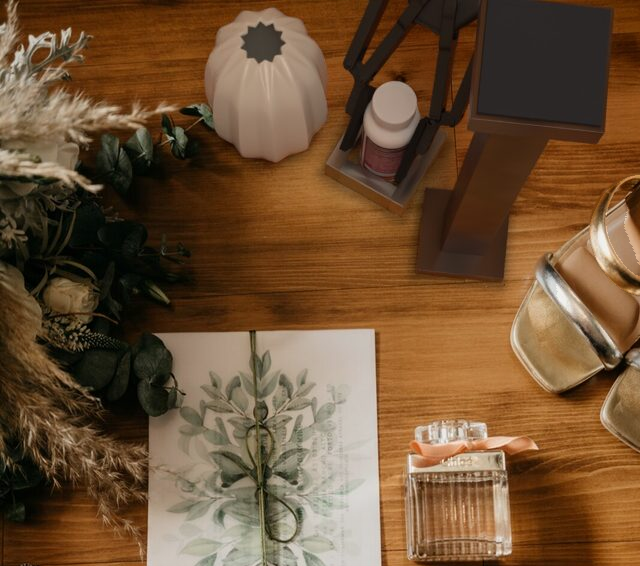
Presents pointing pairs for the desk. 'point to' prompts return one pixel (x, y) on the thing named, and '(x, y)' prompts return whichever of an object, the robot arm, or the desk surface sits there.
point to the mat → (544, 62)
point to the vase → (266, 85)
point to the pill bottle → (388, 128)
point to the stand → (376, 186)
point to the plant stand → (489, 182)
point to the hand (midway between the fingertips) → (372, 162)
